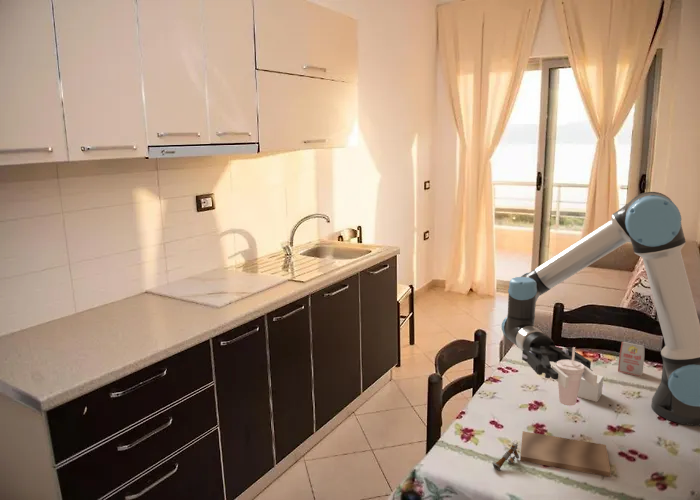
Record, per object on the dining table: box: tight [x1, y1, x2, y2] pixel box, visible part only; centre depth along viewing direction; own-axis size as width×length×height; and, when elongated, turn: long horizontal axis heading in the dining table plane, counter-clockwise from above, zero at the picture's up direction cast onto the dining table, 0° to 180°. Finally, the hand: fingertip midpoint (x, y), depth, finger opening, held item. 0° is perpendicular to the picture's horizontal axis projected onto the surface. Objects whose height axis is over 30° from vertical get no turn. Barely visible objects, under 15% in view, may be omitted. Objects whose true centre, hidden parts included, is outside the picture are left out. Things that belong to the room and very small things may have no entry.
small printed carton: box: [617, 341, 646, 377], centre depth 179 cm, size 4×7×10 cm, turn 51°
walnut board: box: [519, 431, 612, 478], centre depth 134 cm, size 20×12×1 cm, turn 70°
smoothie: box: [555, 346, 585, 407], centre depth 130 cm, size 6×6×14 cm
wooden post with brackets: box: [492, 443, 520, 472], centre depth 131 cm, size 2×8×4 cm, turn 124°
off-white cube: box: [577, 374, 604, 403], centre depth 164 cm, size 6×6×6 cm
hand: (581, 381), depth 125 cm, fingers closed on smoothie, 6 cm apart
